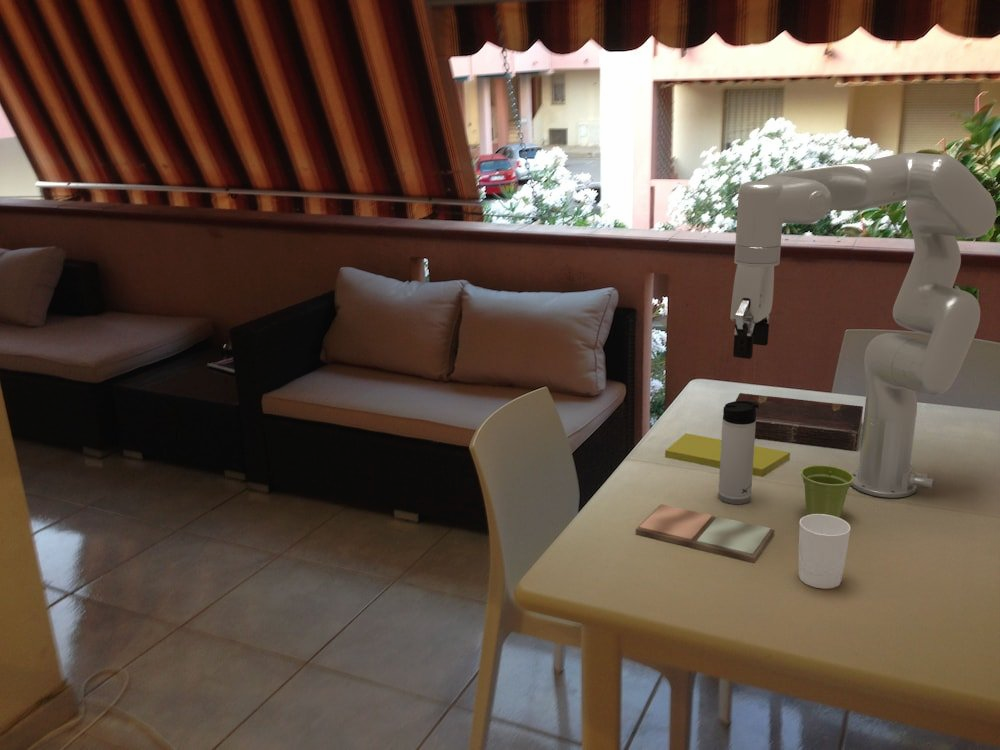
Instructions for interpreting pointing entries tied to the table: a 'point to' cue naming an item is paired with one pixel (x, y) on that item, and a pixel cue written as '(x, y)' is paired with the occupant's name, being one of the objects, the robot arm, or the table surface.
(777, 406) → the hardback book
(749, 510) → the table surface
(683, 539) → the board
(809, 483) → the plant pot
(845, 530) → the white cup
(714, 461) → the flat olive board
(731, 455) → the travel mug
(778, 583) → the table surface
